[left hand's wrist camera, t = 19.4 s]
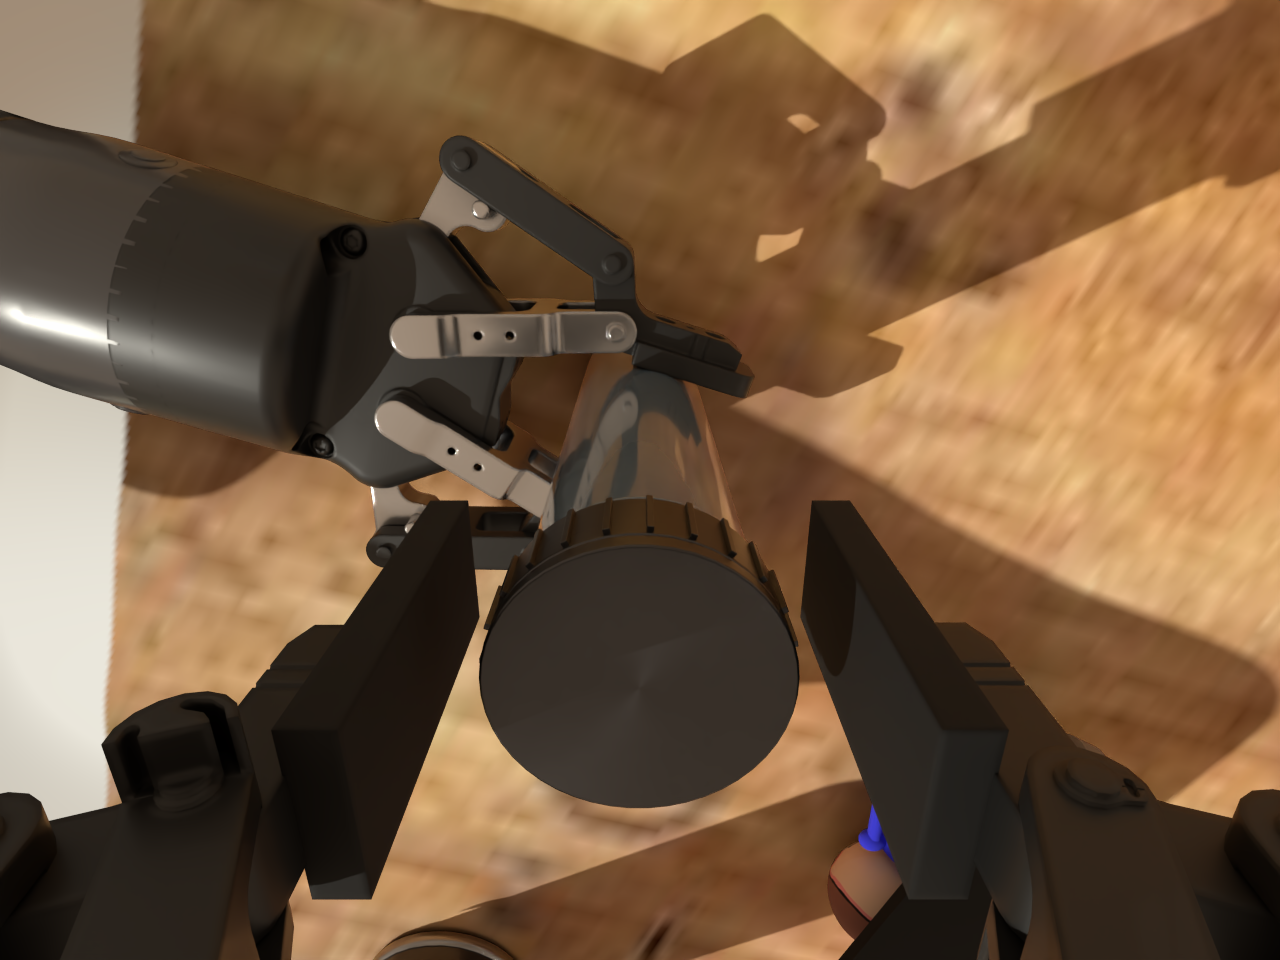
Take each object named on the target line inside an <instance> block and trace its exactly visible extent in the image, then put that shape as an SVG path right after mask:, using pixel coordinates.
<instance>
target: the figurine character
mask: <svg viewBox="0 0 1280 960" xmlns="http://www.w3.org/2000/svg"><path fill="white" fill-rule="evenodd" d="M1067 735H1068V736H1069V737H1070V739H1071V740H1072V741H1073V742H1074V744H1075V745H1076V746H1077V747H1080V748H1083V749H1086V750H1089V751H1092V752H1095V753H1098V754H1101V755H1104V753H1103V752H1102V751H1101V750H1100V749H1098V748H1097V747H1095V746H1093V745H1091V744H1089V743H1087V742H1085V741H1083V740H1081V739H1079V738H1077V737H1075V736H1072V735H1070V734H1067ZM1104 756H1105V755H1104ZM858 840H859V841H858V842H855V843H853V844H851V845H849V846H847V847H846V848H844V849H843V850H842V851H841V852H840V853H839V854H838V856H837V857H836V858H835V860H834V862H833V864H832V866H831V869H830V872H829V876H828V896H829V901H830V905H831V907H832V910H833V913H834V915H835V917H836V919H837V920H838V922H839V923H840V925H841V926H842V928H843V929H844V930H845V931H846V932H847V933H848V934H849V935H850V936H851V937H852V938H853V939H854V942H853V943H852V944H851V945H850V946H849V948H848V949H847V950H846V951H845V953H844V954H843V955H842V956H841V957H840V959H839V960H977V954H978V950H979V946H980V942H981V938H982V934H983V931H984V927H985V923H986V919H987V915H988V912H989V908H990V904H991V900H992V897H991V895H990V893H989V891H988V889H987V887H986V885H985V883H984V881H983V879H982V877H981V875H980V873H979V871H978V869H977V867H976V868H975V872H974V876H973V880H972V884H971V888H970V892H969V896H968V899H908V896H907V894H906V891H905V888H904V886H903V883H902V881H901V878H900V875H899V873H898V870H897V868H896V865H895V862H894V860H893V857H892V855H891V852H890V849H889V847H888V844H887V841H886V839H885V836H884V834H883V831H882V828H881V826H880V823H879V821H878V818H877V815H876V813H875V810H874V808H873V805H872V807H871V813H870V818H869V824H868V828H866V829H864V830H862V831H861V832H860V834H859V837H858ZM988 960H989V958H988Z"/></svg>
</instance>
